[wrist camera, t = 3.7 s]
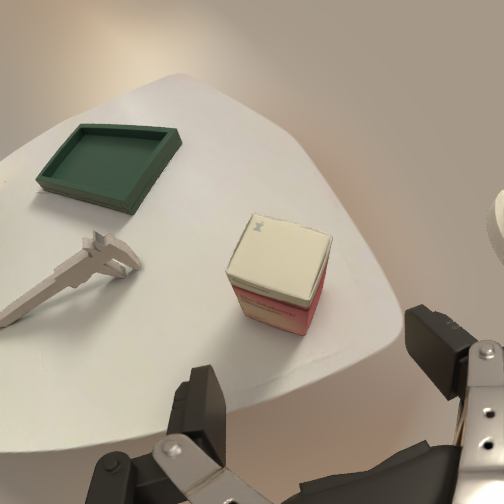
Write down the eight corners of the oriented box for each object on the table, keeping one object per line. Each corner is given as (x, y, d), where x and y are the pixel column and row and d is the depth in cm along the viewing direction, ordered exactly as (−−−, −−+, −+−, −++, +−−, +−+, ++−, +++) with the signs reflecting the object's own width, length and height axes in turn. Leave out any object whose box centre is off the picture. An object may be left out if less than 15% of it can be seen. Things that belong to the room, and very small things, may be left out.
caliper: (141, 260, 28) (109, 222, 22) (143, 270, 27) (109, 233, 22) (-2, 322, 26) (-41, 301, 21) (-2, 331, 26) (-42, 311, 20)
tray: (182, 142, 35) (176, 128, 33) (133, 215, 30) (124, 201, 28) (87, 134, 40) (80, 123, 38) (43, 189, 35) (34, 179, 33)
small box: (243, 316, 24) (220, 272, 17) (264, 267, 26) (251, 210, 19) (306, 338, 22) (310, 302, 16) (324, 287, 24) (334, 233, 17)
